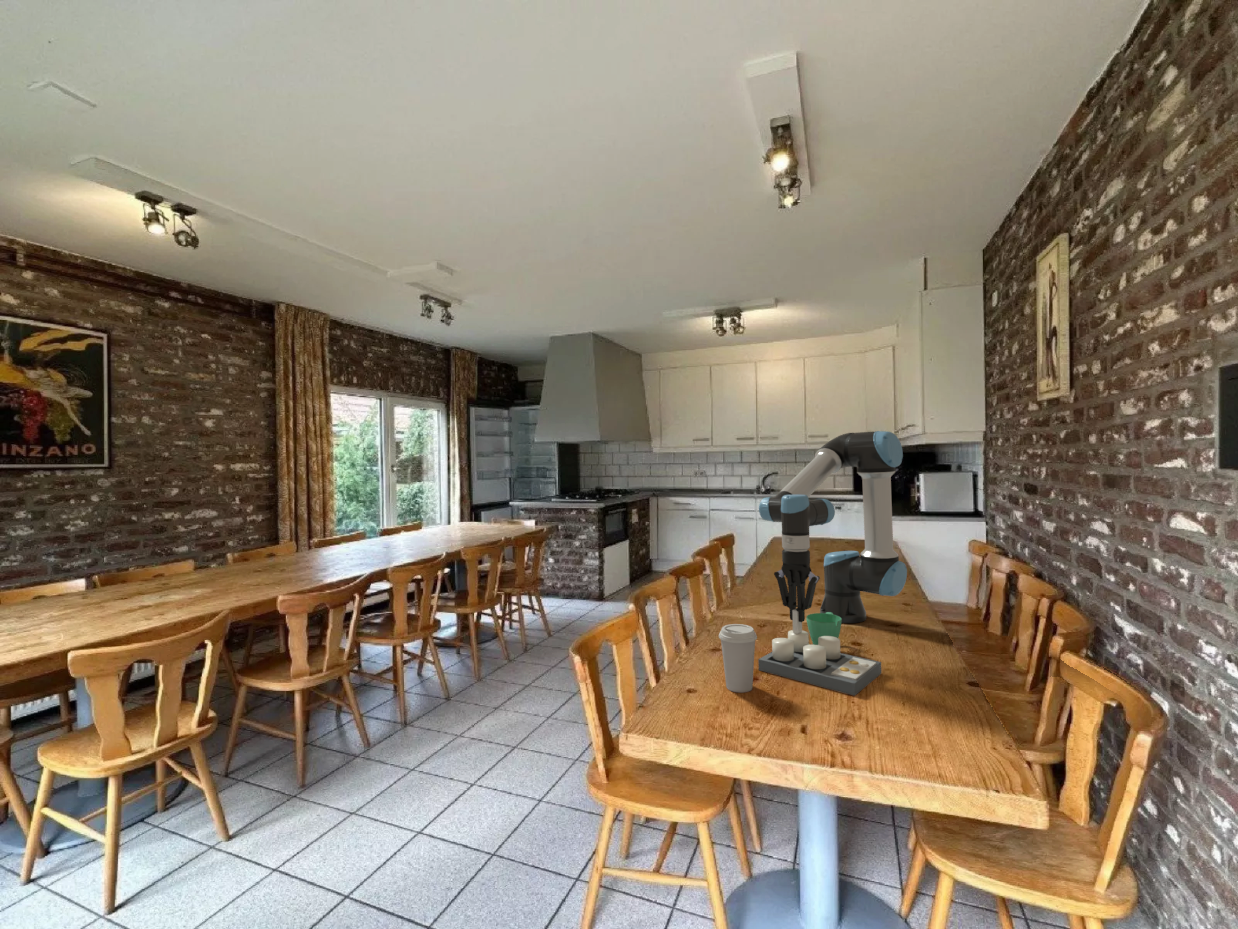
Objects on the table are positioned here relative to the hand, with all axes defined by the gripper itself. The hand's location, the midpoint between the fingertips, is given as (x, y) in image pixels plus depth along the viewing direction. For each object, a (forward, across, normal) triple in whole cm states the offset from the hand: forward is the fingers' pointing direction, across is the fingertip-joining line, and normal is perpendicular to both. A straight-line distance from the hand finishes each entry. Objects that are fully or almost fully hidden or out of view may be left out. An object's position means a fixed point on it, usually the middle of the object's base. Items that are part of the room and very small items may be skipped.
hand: (797, 632), depth 162 cm
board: (+8, +8, -4) cm, 12 cm away
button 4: (+5, +9, 0) cm, 10 cm away
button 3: (+5, +9, -9) cm, 13 cm away
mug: (+8, +2, +14) cm, 16 cm away
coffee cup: (+9, -3, -26) cm, 28 cm away
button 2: (+5, 0, 0) cm, 5 cm away
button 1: (+5, 0, -9) cm, 10 cm away
